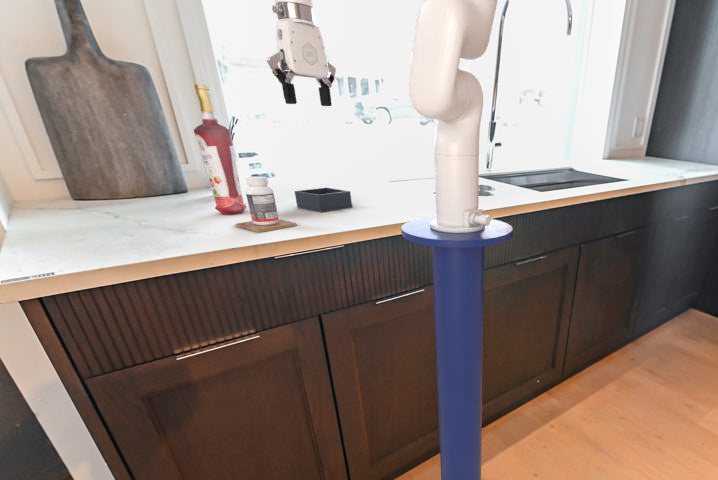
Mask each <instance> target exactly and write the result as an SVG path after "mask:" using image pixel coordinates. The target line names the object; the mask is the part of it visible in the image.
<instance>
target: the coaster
mask: <svg viewBox="0 0 718 480" xmlns="http://www.w3.org/2000/svg"><path fill="white" fill-rule="evenodd" d="M297 225H298V224H297V222H293V221H289V220H285V219H281V218H279V222H278V223H277V224H272V225H256V224H253V221H252V220H250V221H244V222H243V221H242V222H238V223H235V224H234V226H235V227H237V228H240V229H244V230H248V231H252V232H255V233H256V232H257V233H263V232H269V231H274V230H281V229H285V228H291V227H296V226H297Z"/></svg>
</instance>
